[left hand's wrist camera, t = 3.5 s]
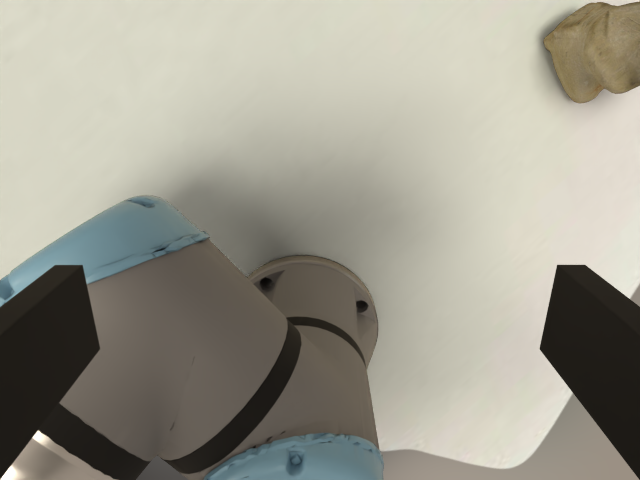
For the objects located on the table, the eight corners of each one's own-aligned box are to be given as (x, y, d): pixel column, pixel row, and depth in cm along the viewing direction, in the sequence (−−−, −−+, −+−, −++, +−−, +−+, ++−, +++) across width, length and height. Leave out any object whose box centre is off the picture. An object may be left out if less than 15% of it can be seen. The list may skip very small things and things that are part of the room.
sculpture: (559, 112, 40) (688, 139, 26) (523, 38, 38) (643, 24, 24) (623, 71, 38) (795, 77, 25) (590, -7, 36) (758, -50, 22)
